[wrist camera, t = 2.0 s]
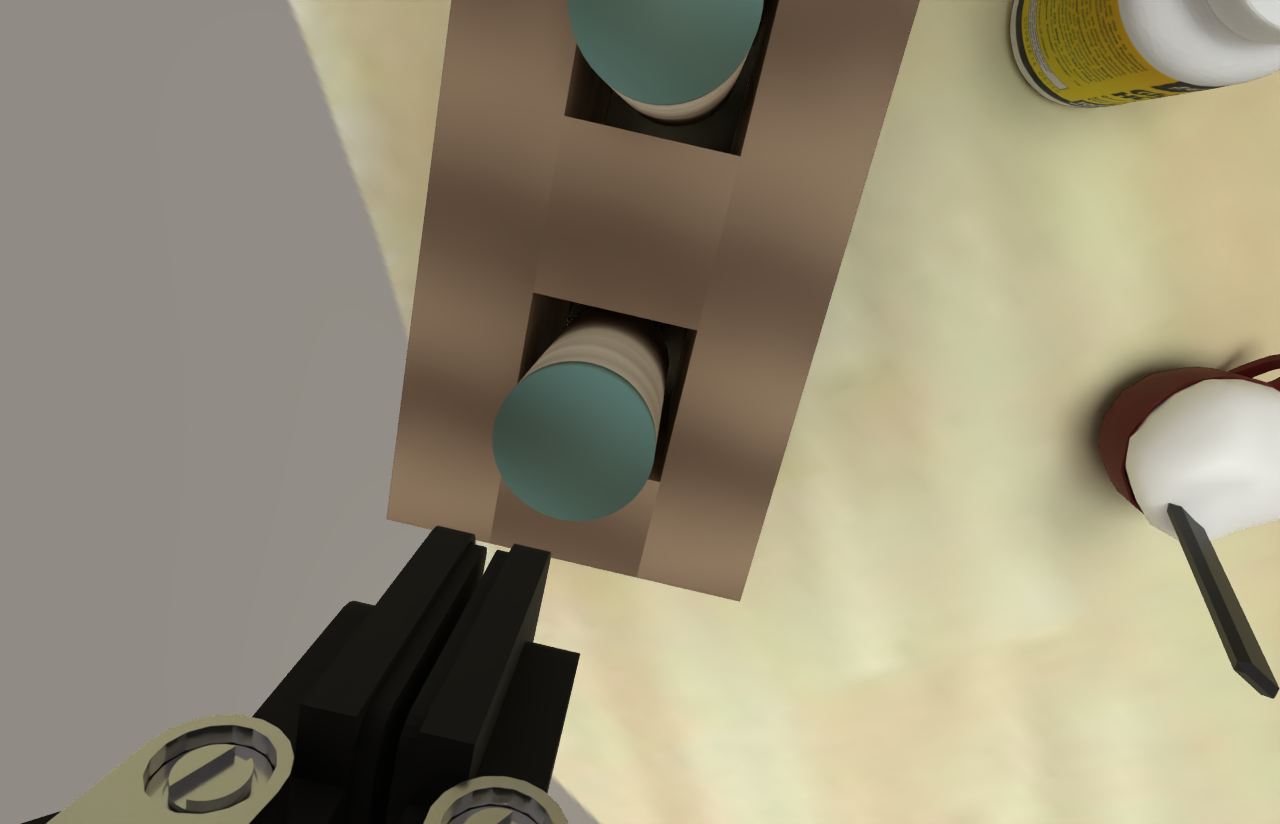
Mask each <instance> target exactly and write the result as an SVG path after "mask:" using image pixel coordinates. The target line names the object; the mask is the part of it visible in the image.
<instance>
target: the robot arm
mask: <svg viewBox="0 0 1280 824" xmlns="http://www.w3.org/2000/svg"><path fill="white" fill-rule="evenodd" d="M475 538H476V537H475V534H472V533H468V532H464V531H459V530H455V529H451V528H447V527H442V526H436V527H435V528H434V529H433V530H432V531H431V533H430V534H429V536H428V537H427V538H426V539H425V541H424V542H423V543H422V545H421V546H420V547H419V549H418V550H417V551H416V552H415V554H414V555H413V557H412V558H411V559H410V560H409V562H408V563H407V564H406V566H405V567H404V568H403V570H402V571H401V572H400V574H399V575H398V576H397V577H396V579H395V580H394V581H393V583H392V584H391V585H390V587H389V588H388V589H387V591H386V592H385V593H384V595H383V596H382V597H381V599H380V600H379V602H377V604H376V605H375V606H374V605H370V604H366V603H361V602H357V601H351V602H349V603H348V604H347V605H346V606H344V607H343V608H342V610H341V611H340V612H339V613H338V614H337V616H336V617H335V618H334V619H333V620H332V622H331V623H330V624H329V625H328V626H327V628H326V629H325V630H324V631H323V633H322V634H321V635H320V636H319V637H318V638H317V640H316V641H315V642H314V643H313V645H312V646H311V647H310V648H309V649H308V650H307V652H306V653H305V654H304V655H303V656H302V658H301V659H300V660H299V661H298V662H297V664H296V665H295V666H294V667H293V668H292V670H291V671H290V672H289V673H288V674H287V676H286V677H285V678H284V679H283V680H282V682H281V683H280V684H279V685H278V686H277V688H276V689H275V690H274V691H273V692H272V694H271V695H270V696H269V697H268V698H267V700H266V701H265V702H264V703H263V704H262V706H261V707H260V708H259V709H258V710H257V712H256V713H255V714H254V715H253V716H252V717H249V716H244V715H215V716H210V717H204V718H199V719H194V720H191V721H188V722H186V723H183V724H180V725H178V726H175V727H172V728H170V729H168V730H167V731H165V732H163V733H162V734H160V735H159V736H157V737H156V738H154V739H152V740H151V741H149V742H148V743H146V744H145V745H144V746H143V747H141V748H140V749H139V750H138V751H137V752H135V753H134V754H133V755H131V756H130V757H129V758H128V759H126V760H125V761H124V762H123V763H121V764H120V765H119V766H118V767H116V768H115V769H114V770H112V771H111V772H110V773H109V774H107V775H106V776H105V777H104V778H102V779H101V780H100V781H99V782H98V783H96V784H95V785H94V786H92V787H91V788H90V789H89V790H87V791H86V792H85V793H84V794H82V795H81V796H80V797H79V798H77V799H76V800H75V801H74V802H72V803H71V804H70V805H69V806H67V807H66V808H65V809H64V810H62V811H60V812H57V813H53V814H50V815H47V816H44V817H41V818H38V819H34V820H32V821H28V822H25V823H22V824H568V820H567V819H566V817H565V815H564V813H563V811H562V810H561V808H560V807H559V805H558V804H557V803H556V802H555V801H554V800H553V799H552V798H551V797H550V796H549V795H548V794H547V793H548V789H549V784H550V780H551V776H552V772H553V768H554V764H555V759H556V755H557V751H558V747H559V742H560V738H561V734H562V730H563V725H564V721H565V717H566V713H567V708H568V704H569V700H570V696H571V691H572V687H573V683H574V678H575V674H576V670H577V665H578V661H579V657H580V653H576V652H571V651H567V650H563V649H558V648H554V647H550V646H546V645H541V644H537V643H533V640H534V636H535V631H536V626H537V621H538V617H539V612H540V607H541V602H542V598H543V593H544V588H545V583H546V579H547V574H548V569H549V564H550V559H551V552H549V551H545V550H541V549H536V548H532V547H528V546H524V545H519V544H513V546H512V548H511V550H510V552H505V551H501V550H497V551H496V552H495V554H494V556H493V558H492V560H491V561H490V563H489V565H488V567H487V569H486V571H485V573H484V574H483V571H484V566H485V560H486V554H487V548H486V547H484V546H479V545H475Z"/></svg>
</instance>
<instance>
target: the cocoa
mask: <svg viewBox="0 0 1280 824" xmlns="http://www.w3.org/2000/svg"><path fill="white" fill-rule="evenodd" d="M1275 369H1280V354H1278V355H1271V356H1268V357H1265V358H1261V359H1258V360H1255V361H1252V362H1250V363H1247V364H1244V365H1241V366H1239V367H1237V368H1234V369H1232V370H1230V371H1227V372H1226V371H1222V370H1218V369H1214V368H1203V367H1189V368H1180V369H1175V370H1169V371H1163V372H1158V373H1152V374H1150V375H1149V376H1147V377H1145V378H1144V379H1142V380H1141V381H1139V382H1137V383H1136V384H1134V385H1132V386H1131V387H1129V388H1128V389H1126V390H1124V391H1123V392H1122V393H1121V395H1120V396H1119V397H1118V399H1117V400H1116V401H1115V403H1114V404H1113V405H1112V407H1111V408H1110V409H1109V411H1108V412H1107V414H1106V415H1105V416H1104V419H1103V424H1102V429H1101V434H1100V439H1099V444H1098V447H1099V450H1100V453H1101V456H1102V459H1103V462H1104V465H1105V468H1106V471H1107V473H1108V475H1109V478H1110V480H1111V482H1112V483H1113V485H1114V486H1115V488H1116V489H1117V491H1118V492H1119V493H1120V494H1121V495H1123V496H1124V497H1125V498H1126V499H1127V500H1128V501H1129V502H1130V503H1132V504H1133V505H1134V506H1135V507H1136V508H1137V509H1138V510H1140V511H1141V512H1142V513H1143V514H1144V515H1145V516H1146V518H1147V520H1148V521H1149V523H1150V525H1152V526H1154V527H1156V528H1157V529H1159V530H1161V531H1163V532H1165V533H1166V534H1168V535H1170V536H1172V537H1173V538H1175V539H1177V540H1179V541H1180V544H1181V546H1182V549H1183V551H1184V553H1185V556H1186V558H1187V560H1188V563H1189V565H1190V567H1191V570H1192V572H1193V575H1194V577H1195V579H1196V582H1197V584H1198V586H1199V589H1200V591H1201V594H1202V596H1203V598H1204V601H1205V603H1206V605H1207V608H1208V610H1209V612H1210V615H1211V617H1212V620H1213V622H1214V624H1215V627H1216V629H1217V631H1218V634H1219V636H1220V638H1221V641H1222V643H1223V646H1224V648H1225V650H1226V653H1227V655H1228V657H1229V660H1230V662H1231V665H1232V667H1233V669H1234V670H1235V671H1236V672H1237V673H1238V674H1239V675H1240V676H1241V677H1242V678H1243V679H1244V680H1245V681H1247V682H1248V683H1249V684H1250V685H1251V686H1252V687H1253V688H1254V689H1255V690H1256V691H1257V692H1259V693H1260V694H1261V695H1264V696H1267V697H1270V698H1273V699H1274V698H1275V696H1276V694H1277V692H1278V690H1279V687H1278V684H1277V682H1276V680H1275V678H1274V676H1273V674H1272V672H1271V670H1270V667H1269V665H1268V663H1267V661H1266V659H1265V657H1264V655H1263V653H1262V650H1261V648H1260V646H1259V644H1258V642H1257V640H1256V638H1255V636H1254V633H1253V631H1252V629H1251V627H1250V625H1249V623H1248V621H1247V619H1246V616H1245V614H1244V612H1243V610H1242V608H1241V606H1240V604H1239V602H1238V599H1237V597H1236V595H1235V593H1234V591H1233V589H1232V587H1231V584H1230V582H1229V580H1228V578H1227V576H1226V574H1225V572H1224V570H1223V567H1222V565H1221V563H1220V561H1219V559H1218V557H1217V555H1216V553H1215V550H1214V548H1213V546H1212V544H1211V541H1213V540H1215V539H1218V538H1220V537H1223V536H1226V535H1229V534H1231V533H1234V532H1237V531H1240V530H1243V529H1247V528H1250V527H1254V526H1258V525H1262V524H1266V523H1270V522H1273V521H1276V520H1279V519H1280V377H1279V378H1277V379H1275V380H1273V381H1270V382H1267V383H1266V382H1263V381H1260V380H1257V379H1253V377H1255V376H1258V375H1260V374H1263V373H1266V372H1268V371H1271V370H1275Z"/></svg>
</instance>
